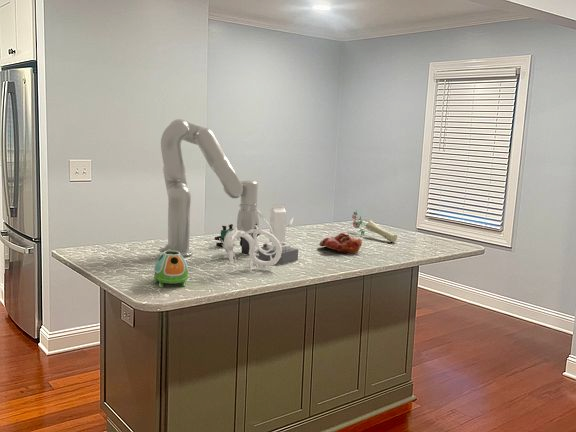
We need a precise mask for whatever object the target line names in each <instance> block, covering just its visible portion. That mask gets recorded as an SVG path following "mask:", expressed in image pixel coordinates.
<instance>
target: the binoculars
mask: <svg viewBox="0 0 576 432" xmlns="http://www.w3.org/2000/svg"><path fill="white" fill-rule="evenodd" d="M221 226H222V230H220V235H218V236H217V235H216V236H215V237H214V240H215V241H219V242H215V245H216V246H222V245H223V242H224V237H225V236H226V233H228V232H230V231H232V230H234V231H235V228H234V224H232V223H231V224H228V229H227V225H221ZM222 241H223V242H222ZM234 241H236V238H235V239H234ZM223 246H224V245H223ZM223 246H222V247H223Z"/></svg>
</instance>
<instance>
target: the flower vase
mask: <svg viewBox="0 0 576 432" xmlns="http://www.w3.org/2000/svg"><path fill="white" fill-rule="evenodd" d="M351 217H352V220H353V222H352V226H353V228H355V229H359V228H361V226H363V227H364V229H363V228H361V229H360V230H359V233H360V234H361V236H363V234H364V233H365V230H367V231H369V232H372V233H374V234H378V235H380V236H381V237H383V238H384V239H385V240H387V241H388V242H389V243H391V242H394V243H396V241H397V240H398V235H397V234H395V233H392V232H390V231H388V230H386V229H383V228H382V227H381V226H379V225H378V224H376V223H375V222H374V221H372V220H371V219H370V220H369V221H368V222H367V223H366V224H364V221H363V220H362V216H361V215H360V216H359V217H358V211H357V210H355V211H353V214H352V216H351ZM364 235H365V234H364Z"/></svg>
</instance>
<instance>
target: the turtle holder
mask: <svg viewBox="0 0 576 432" xmlns="http://www.w3.org/2000/svg"><path fill="white" fill-rule="evenodd" d="M169 253H172V254H173V255H170V254H169ZM153 271H154V274H153V277H154V283H158V287H159V288H163V287H164V284H181V285H180V286H181V287H182V286H183V287H182V288H184V287H186V282H185V281H187V280H188V279H189V267H188V263H187V261H186V259H185V257H182V255H181V254H180V252H178V251H164V252H162V253H161V254H160V255H159V256H158V258H157V260H156V263H155V266H154V269H153Z"/></svg>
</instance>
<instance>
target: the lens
mask: <svg viewBox="0 0 576 432" xmlns="http://www.w3.org/2000/svg"><path fill="white" fill-rule="evenodd" d="M248 234H249V235H250V233H248ZM249 249H250V248H249V243H248V241H247V240H246V239H245V238H243V237H242V246H241V254H242V255H245V256H246V255H248V256H250V255H249Z"/></svg>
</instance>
